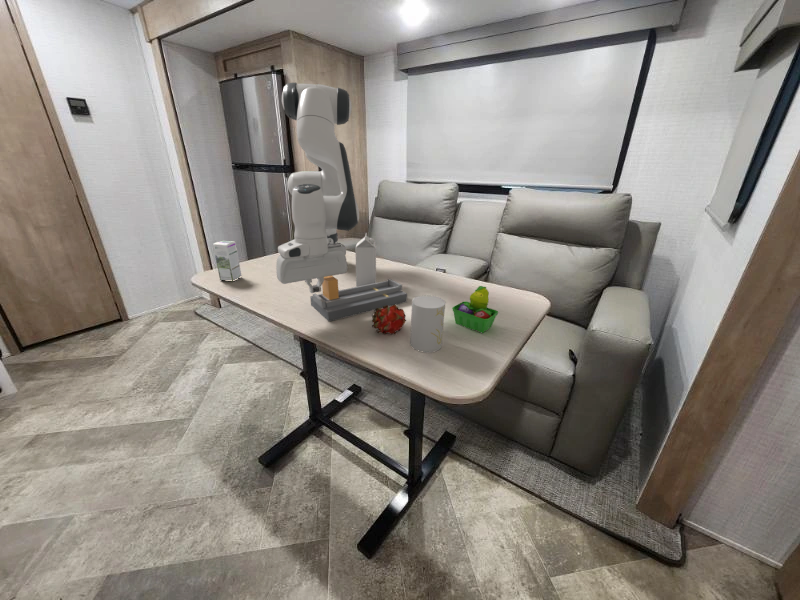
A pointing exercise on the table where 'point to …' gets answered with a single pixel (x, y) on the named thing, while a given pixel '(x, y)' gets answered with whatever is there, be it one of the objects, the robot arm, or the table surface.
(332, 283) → the fader
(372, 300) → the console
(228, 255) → the syrup box
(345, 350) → the table surface
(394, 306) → the dragon fruit
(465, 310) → the fruit basket
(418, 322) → the cup
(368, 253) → the milk carton
